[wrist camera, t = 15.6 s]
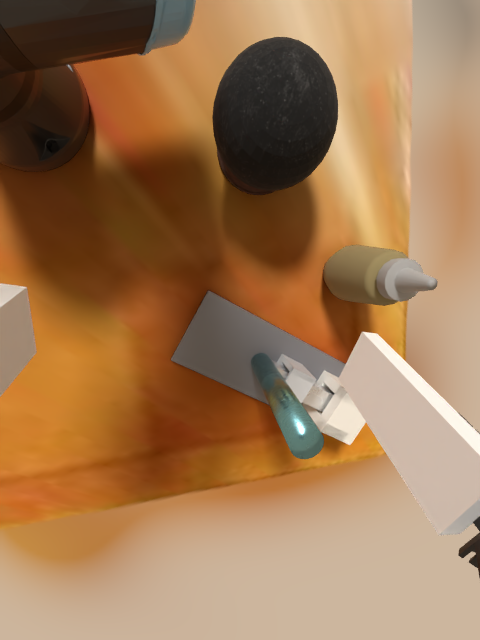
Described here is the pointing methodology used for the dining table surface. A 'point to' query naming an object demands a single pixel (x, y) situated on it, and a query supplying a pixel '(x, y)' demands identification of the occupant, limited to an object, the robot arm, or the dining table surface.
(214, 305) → the socket
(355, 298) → the squeeze bottle
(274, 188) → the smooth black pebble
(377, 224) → the dining table surface
